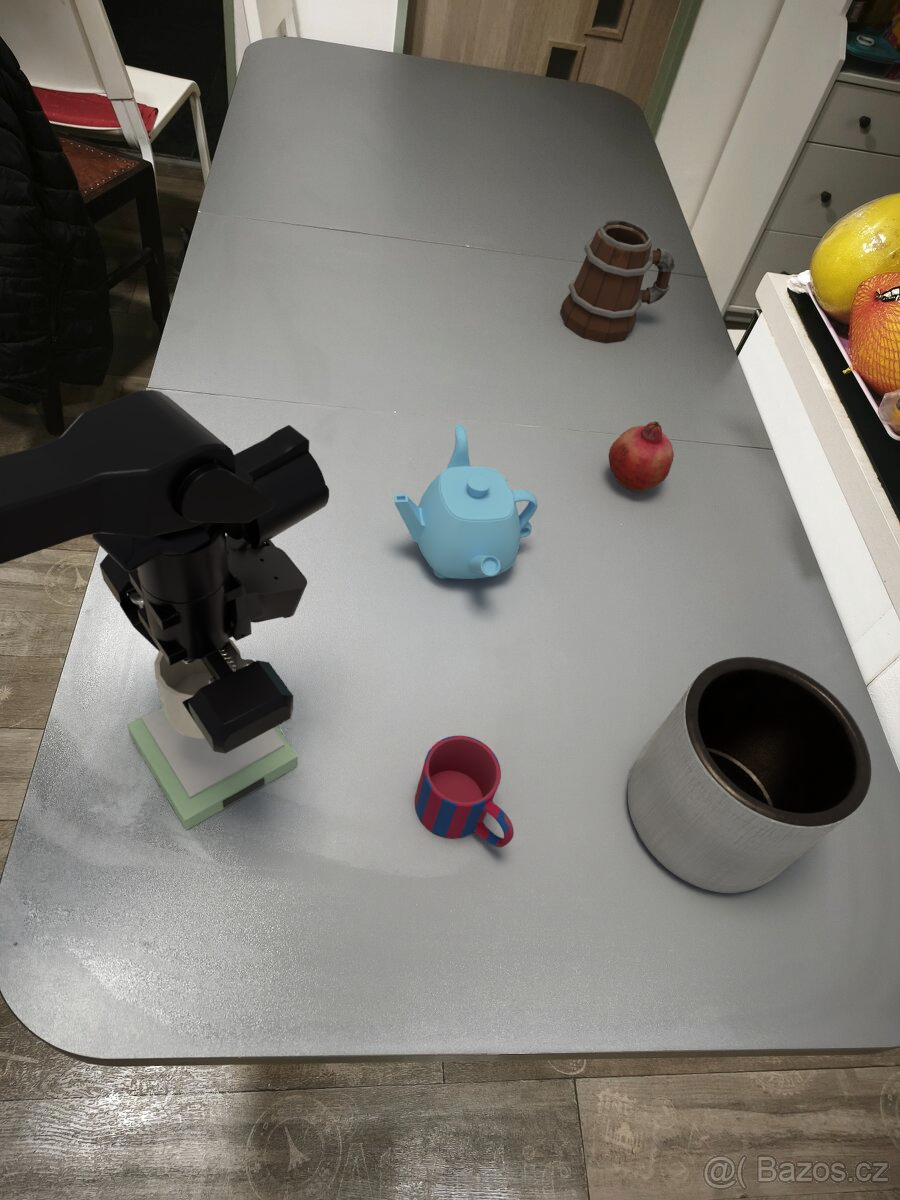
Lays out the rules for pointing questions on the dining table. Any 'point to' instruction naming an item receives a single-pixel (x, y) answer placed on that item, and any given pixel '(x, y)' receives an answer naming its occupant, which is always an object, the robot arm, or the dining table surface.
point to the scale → (207, 766)
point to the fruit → (641, 457)
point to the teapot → (468, 518)
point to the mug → (614, 282)
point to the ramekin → (181, 690)
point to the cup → (461, 790)
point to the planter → (747, 775)
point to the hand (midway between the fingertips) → (202, 695)
